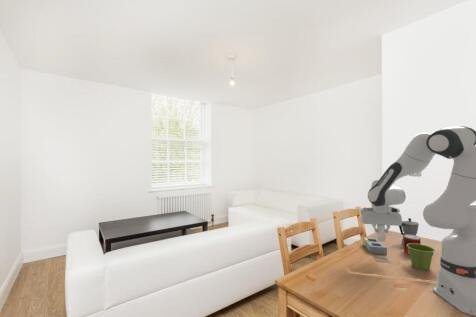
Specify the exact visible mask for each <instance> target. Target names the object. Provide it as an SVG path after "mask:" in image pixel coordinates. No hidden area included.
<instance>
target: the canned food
mask: <svg viewBox="0 0 476 317" xmlns="http://www.w3.org/2000/svg"><path fill="white" fill-rule="evenodd" d="M421 242H422V241H421V237H420V236H418V235H416V236H415V235H404V245H403V252H404V253H405V254H407V255H409V256H410V253H409V250H408V247H407V244H410V243H414V244H421ZM421 245H422V244H421Z"/></svg>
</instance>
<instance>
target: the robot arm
mask: <svg viewBox="0 0 476 317" xmlns="http://www.w3.org/2000/svg"><path fill="white" fill-rule="evenodd" d="M435 155H438V156H441V157H443V158H446V159H449V160H450V159H452V160H453V166H452V169H451V173H450V177H449V180H448V183H447V185H446V188H445V190H444V191H443V192H442V194H441V195H440V196H439V197H438V198H437V199H436V200H434V201H433V202H431V203H429V204H427V205H426V206H425V207H424V208H423V211H422V216H423V219H424V220H425V222H426V224H428V226H430V227H432V228H433V227H434V228H438V229H442V230H443V229H444V230H451V233H450V234H449V235H447V236H445V237H444V238H443V239H442V240H441V256H440V260H439V262H440V264H439V265H440V269H439V270H438V271H437V274H436V281H435V282H436V284H435V286H434V287H432V292H434V293H436V294H437V295H438V296H439V297H440V298H442V299H444V300H445V301H446V302H447V303H449V304H450V305H451V306H453V307H454V308H455V309H457V310H458V311H460V312H462V313H464V314H467V315H469V316H474V317H476V203H474V202H476V130H475V129H474V128H472V127H468V126H463V125H461V126H450V127H445V128H440V129H437V130H435V131H433V132H431V133H429V132H421V133H418V134H416V135H415V136H414V137H413V138H412V139H411V141H410V142H409V143H408V145H407V146H406V148H405V149H404V150H403V152H402V154H401V155H400V156H399V157H398V158H397V160H396V161H394V162H393V163H392V164H390V166H389V167H388V168H386V169H385V171H384V173H383V174H382V176H380V178H379V179H377V180H374V181H372V182H371V187H370V189H369V190H368V192H367V200H368V202H370V204H371V207H363V208H360V222H361V223H362V224H364V225H371V226H372V227H373V229H374V232H375V233H378V229H377V228H376V227H377V225H385V227H386V228H385V234H389V230H390V228H391V226H398V227H399V226H401V225H402V221H403V217H402V215H401V213H400V212H401V211H400V209H399V208H397V207H395V206H396V205H402V204H403V203H404V202H405V201H406V193H405V190H403V189H402V188H401V187H399V186H398V187H397V186H395V185H394V184H395V182H397V181H398V180H399V179H401V178H404V177H406V176H410V175H415V174H418V173H421V172H422V171H424V170H425V169H426V168H427V167H428V166H429V165H430V163H431V161H432V160H433V158H434V156H435Z"/></svg>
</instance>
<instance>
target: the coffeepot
mask: <svg viewBox="0 0 476 317" xmlns="http://www.w3.org/2000/svg"><path fill="white" fill-rule="evenodd" d="M419 225H420V224H419V222H416V221H412V218H409V217H408V220H402V225H401V226H398V227H399V230H400V231H399V232H400V235H402V240H401V244H402V245H403V246H404V235H415V236H417V234H418V229H419Z"/></svg>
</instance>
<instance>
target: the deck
mask: <svg viewBox="0 0 476 317" xmlns="http://www.w3.org/2000/svg"><path fill="white" fill-rule="evenodd" d="M370 254H371V257H372V258H373V259H374V260H375V262H378V263H387V264H391V261H390V260H389V259H388V258H387V257H386V256H385V254H374V253H370Z"/></svg>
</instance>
